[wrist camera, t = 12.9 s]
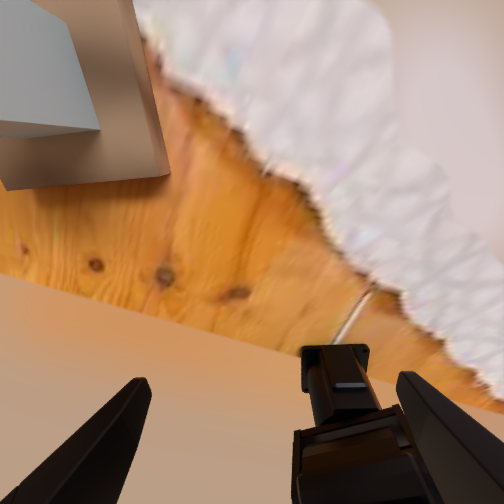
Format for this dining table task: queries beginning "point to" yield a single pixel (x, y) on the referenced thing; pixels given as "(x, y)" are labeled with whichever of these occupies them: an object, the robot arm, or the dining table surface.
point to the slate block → (40, 75)
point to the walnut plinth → (96, 107)
